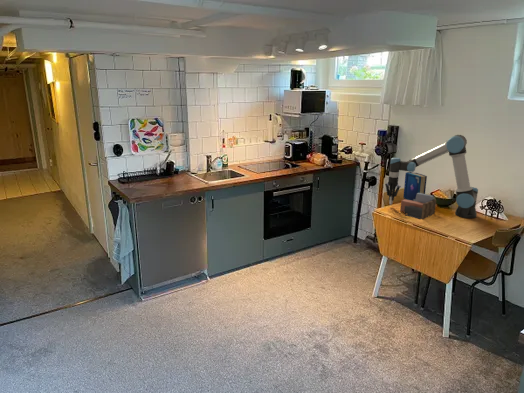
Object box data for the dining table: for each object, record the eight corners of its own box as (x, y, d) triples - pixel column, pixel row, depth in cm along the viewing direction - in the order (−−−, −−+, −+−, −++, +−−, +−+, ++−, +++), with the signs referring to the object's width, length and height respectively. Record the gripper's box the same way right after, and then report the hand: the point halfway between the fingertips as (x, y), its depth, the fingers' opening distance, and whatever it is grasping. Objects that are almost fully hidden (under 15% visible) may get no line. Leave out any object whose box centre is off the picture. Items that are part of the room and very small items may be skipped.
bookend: (405, 212, 317) (405, 204, 315) (424, 217, 306) (425, 208, 304) (400, 214, 313) (401, 205, 311) (420, 219, 301) (421, 210, 299)
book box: (403, 209, 325) (404, 199, 323) (427, 214, 312) (429, 204, 310) (400, 211, 321) (401, 200, 318) (424, 216, 308) (426, 205, 306)
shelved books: (418, 209, 324) (420, 192, 320) (432, 213, 316) (435, 195, 311) (414, 211, 320) (416, 193, 316) (429, 214, 312) (431, 196, 308)
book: (401, 198, 357) (404, 171, 350) (408, 197, 359) (411, 170, 352) (417, 204, 337) (420, 176, 331) (424, 204, 339) (427, 175, 333)
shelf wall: (432, 213, 315) (434, 199, 312) (434, 213, 314) (436, 199, 311) (421, 218, 302) (423, 203, 299) (423, 219, 301) (424, 204, 298)
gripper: (384, 175, 326) (381, 203, 332) (398, 178, 316) (395, 206, 323) (388, 174, 331) (386, 201, 337) (403, 177, 321) (400, 204, 328)
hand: (390, 204), depth 330 cm, fingers closed
